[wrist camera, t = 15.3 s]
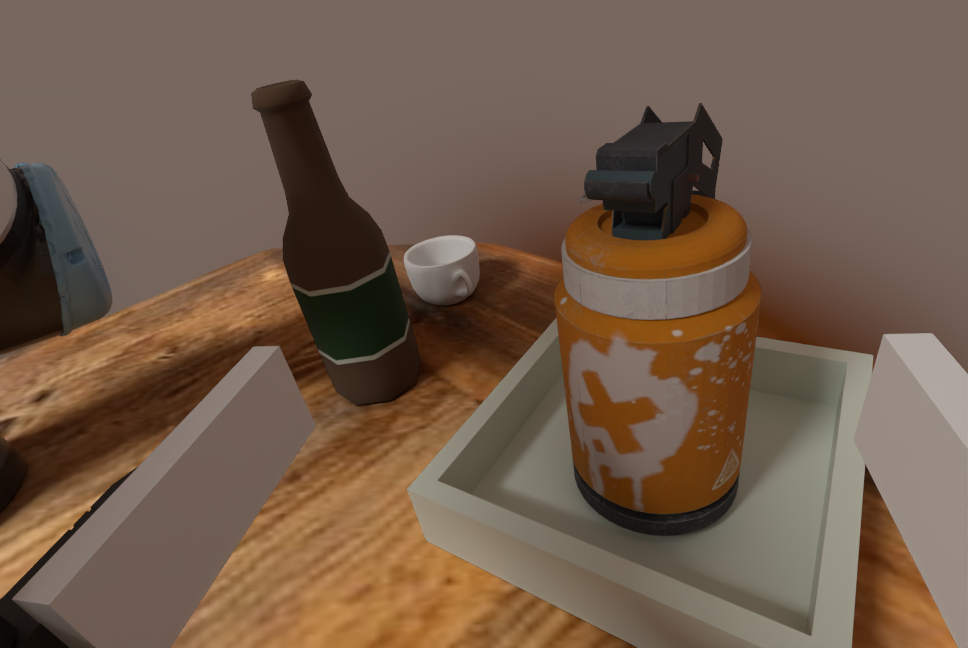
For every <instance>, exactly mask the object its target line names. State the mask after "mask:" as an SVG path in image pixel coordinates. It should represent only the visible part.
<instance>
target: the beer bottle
mask: <svg viewBox="0 0 968 648" xmlns="http://www.w3.org/2000/svg"><path fill="white" fill-rule="evenodd" d="M251 95H252V104H253V109H255V110H257V111H259V112H260V113H261V117H262V120H263V123H264V126H265V129H266V133H267V136H268V139H269V142H270V145H271V149H272V152H273V155H274V158H275V161H276V164H277V168H278V171H279V174H280V177H281V181H282V184H283V187H284V190H285V195H286V200H287V205H288V211H289V216H288V220H287V224H286V228H285V232H284V236H283V261H284V264H285V268H286V271H287V274H288V277H289V280H290V283H291V286H292V288H293V290H294V293H295V295H296V298H297V300H298V302H299V305H300V307H301V310H302V312H303V315H304V317H305V319H306V322H307V324H308V327H309V329H310V331H311V334H312V336H313V339H314V341H315V343H316V346H317V348H318V351H319V353H320V355H321V358H322V360H323V363H324V365H325V368H326V370H327V372H328V375H329V377H330V379H331V381H332V383H333V385H334V387H335V389H336V391H337V392H338V393H339V394H341V395H342V396H344V397H345V398H346V399H348V400H349V401H351V402H352V403H354V404H355V405H356V406H363V405H370V404H378V403H385V402H390V401H392V400H393V399H395V398H396V397H398V396H399V395H400V394H402V393H403V392H405V391H406V390H408V389H409V388H410V387H412V386H413V385H415V384H416V380H417V375H418V370H419V364H420V357H419V352H418V348H417V343H416V340H415V337H414V333H413V330H412V326H411V323H410V320H409V316H408V313H407V309H406V306H405V303H404V299H403V296H402V292H401V289H400V286H399V282H398V279H397V275H396V272H395V269H394V265H393V262H392V258H391V255H390V251H389V249H388V246H387V244H386V241H385V238H384V236H383V233H382V231H381V229H380V228H379V227H378V225H377V224H376V222H375V221H374V220H373V219H372V217H371V216H370V214H369V213H368V212H367V211H365V210H364V209H363V208H362V207H360V206H359V205H358V204H357V203H355V202H354V201H353V200H352V199H351V198H350V197H349V196H348V194H347V192H346V191H345V189H344V187H343V185H342V183H341V181H340V179H339V177H338V175H337V172H336V170H335V167H334V165H333V162H332V159H331V157H330V154H329V152H328V149H327V147H326V144H325V141H324V139H323V136H322V134H321V131H320V129H319V126H318V123H317V121H316V118H315V116H314V113H313V111H312V108H311V106H310V103H309V100H310V98H311V96H312V94H311V92H310V90H309V89H308V87H307V86H306V84H305V82H304V81H300V80H290V81H285V82H280V83H275V84H271V85H267V86H263V87H260V88H257V89H256V90H255V91H253V92H252V93H251Z"/></svg>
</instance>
